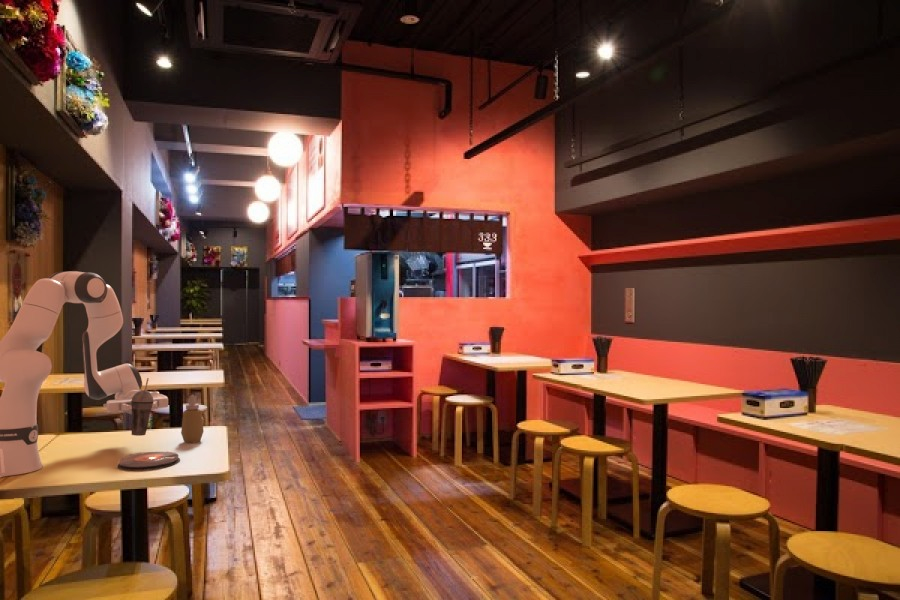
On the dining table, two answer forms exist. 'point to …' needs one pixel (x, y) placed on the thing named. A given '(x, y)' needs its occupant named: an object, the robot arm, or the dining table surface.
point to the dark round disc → (148, 460)
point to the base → (148, 468)
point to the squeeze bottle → (192, 422)
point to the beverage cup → (141, 411)
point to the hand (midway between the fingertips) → (142, 406)
